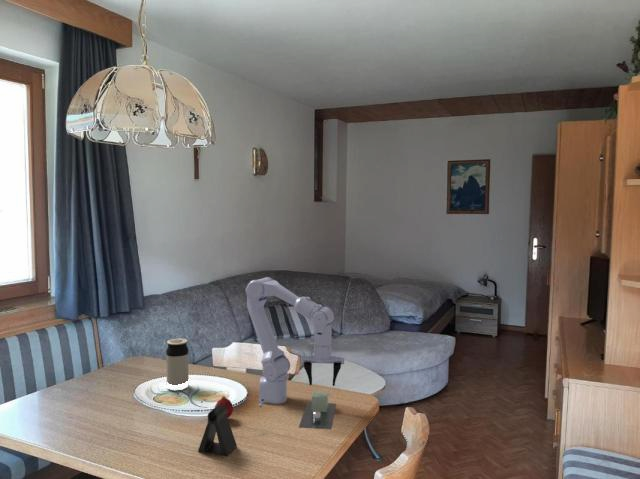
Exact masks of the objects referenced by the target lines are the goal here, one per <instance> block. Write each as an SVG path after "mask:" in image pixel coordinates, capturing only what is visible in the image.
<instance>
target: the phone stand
mask: <svg viewBox="0 0 640 479" xmlns="http://www.w3.org/2000/svg"><path fill="white" fill-rule="evenodd" d="M220 405H221V404H219V405H218V406H217V407H215V406H214V408H213V409H212V410H211V411H209V412H208V414H207V424H206V427H205V430H204V432H203V435H202V439H201V441H200V444H199V447H198V449H197V453H199V454H200V453H201V454H207V455H208V454H209V455H214V456H215V455H216V456H222V457H228V456H230V454H231V452H233V450H234V449H236V447H237V442H236V439H235V435H234V433H233V429H232V426H231V424H230V421H229V417H227V407H226V406H225V405H224V404H223V405H222V406H221V407H219V406H220ZM218 407H219V408H218ZM216 436H217V440H218V441H217V442H215V438H216Z"/></svg>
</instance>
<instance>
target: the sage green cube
mask: <svg viewBox="0 0 640 479" xmlns="http://www.w3.org/2000/svg"><path fill="white" fill-rule="evenodd" d="M311 402H312V411H316V410H317V411H320V412H327V409H328V403H329V391H322V390H321V391H319V390H317V391H316V390H313V392H312V394H311Z"/></svg>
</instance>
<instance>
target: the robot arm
mask: <svg viewBox="0 0 640 479" xmlns="http://www.w3.org/2000/svg"><path fill="white" fill-rule="evenodd" d="M244 291H245V293H246V296H247V297H246V307H247V308H246V309H247V311H248V314H249V317H250V319H251V322H252V325H253V327H254V331H255V333H256V336H257V339H258V341H259V344H260V347H261V351H262V353H263V355H262V358H261V365H262V375H263V376H264V377H263V376H262V377H260V380H259V386H258V387H259V389H258V394H259V395H258V397H259V398H258V400H259V401H258V407H262V406H263V404H264V403H267V404H274V405H276V404H277V405H279V404H283V403H285V402H287V401H288V392H287V391H288V372H289V371H290V370H291V362H290V360H289V358H288V357H287V356H286V355H285V352H284V351H283V350H282V349H280V348H279V346H278V344H277V341H276V338H275V337H276V336H275V335H274V332H273V329H272V326H271V324H270V321H269V318H268V316H267V313H266V310H265V307H264V306H265V303H266V302H267V299H269V298H270V297H277V298H278V299H280V300H282V301H284V302H286V303H287V304H290V305H291V306H293V307H294V311H295V312H297V313H299V314H300V315H301V316H303V317H304V318H306V319H307V320H310V321H311V324H312V325H313V326H314V332H313V335H314V336H313V337H314V338H313V339H314V340H313V341H314V342H313V355H301V356H300V364H303V368H304V370H305V373H306V375H307V378H308V383H309V386H312V385H313V375H312V374H313V372H312V369H313V368H312V367H313V364H332V365H333V367H332V368H333V370H332V371H333V372H332V374H333V376H332V386H333V387H335V386H336V381H337V377H338V374H339V372H340V370H341V369H342V368H341V367H342V365H345V357H344V356H336V355H332V326H333V325H332V323H333V321H334V320H335V313H334V311H333V310H332V309H331V308H330V306H323V305H322V304H320V303H319V304H318V303H316V302H315V301H313V300H311V297H309V296H301V297H300V296H298V295H296V294H295V293H293V292H292V291H291V290H289V289H287V288H286V287H285V286H283V285H281V284H280V283H279V282H278V280H275V279H273V278H272V277H269V276H266V277H263V278H260V279H253V280H250V281H249V282H248V283H247V286H246V288H245V290H244Z"/></svg>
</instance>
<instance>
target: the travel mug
mask: <svg viewBox="0 0 640 479" xmlns="http://www.w3.org/2000/svg"><path fill="white" fill-rule="evenodd" d="M166 343H167V348H166V350H165V352H166V353H165V354H166V359H165V360H166V364H165V365H166V383H167V382H168V383H169V384H172V385H178V384H182V383H185V382H186V381H188V379H189V373H190V372H189V347H188V346H187V343H188V339H186V338H173V339H169V340H167V342H166Z"/></svg>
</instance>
